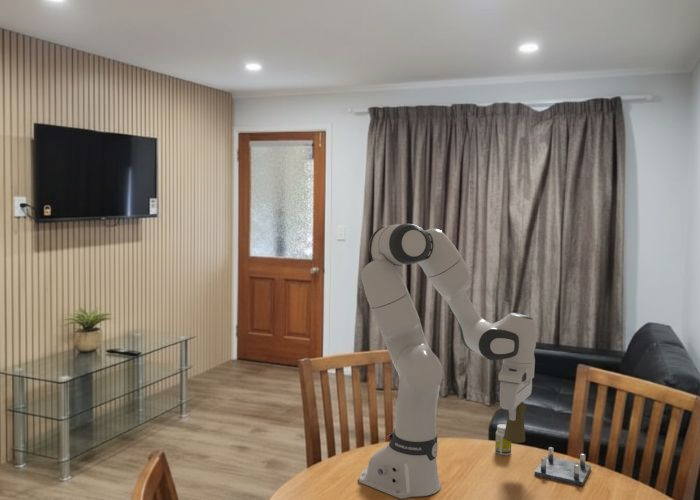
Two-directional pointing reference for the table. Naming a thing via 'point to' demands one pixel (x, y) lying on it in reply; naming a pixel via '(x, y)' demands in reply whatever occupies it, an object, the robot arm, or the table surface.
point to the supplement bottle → (502, 441)
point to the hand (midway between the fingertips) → (515, 417)
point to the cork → (516, 426)
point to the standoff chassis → (563, 469)
